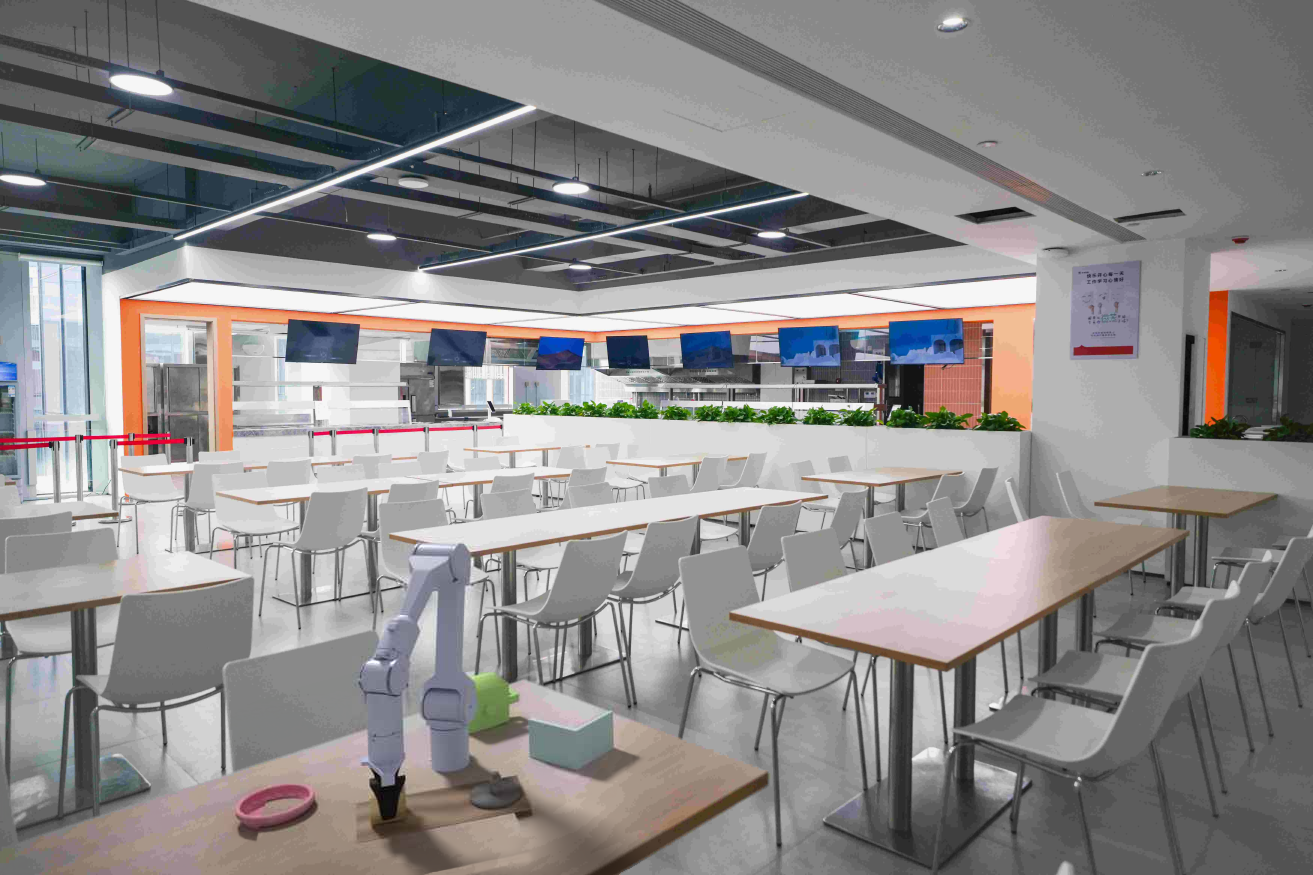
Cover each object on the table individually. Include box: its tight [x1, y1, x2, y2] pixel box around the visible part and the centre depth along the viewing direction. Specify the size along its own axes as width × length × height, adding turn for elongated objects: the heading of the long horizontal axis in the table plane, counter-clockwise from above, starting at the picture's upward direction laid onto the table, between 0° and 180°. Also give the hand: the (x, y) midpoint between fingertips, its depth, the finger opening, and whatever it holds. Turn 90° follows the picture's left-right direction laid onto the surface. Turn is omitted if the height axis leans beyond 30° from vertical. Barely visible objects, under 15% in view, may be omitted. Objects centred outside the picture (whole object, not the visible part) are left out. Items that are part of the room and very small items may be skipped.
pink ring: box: [234, 782, 316, 831], centre depth 139 cm, size 12×12×3 cm
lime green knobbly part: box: [468, 671, 520, 735], centre depth 178 cm, size 18×10×10 cm, turn 131°
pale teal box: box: [528, 710, 615, 771], centre depth 163 cm, size 12×12×8 cm
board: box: [356, 770, 533, 844], centre depth 139 cm, size 14×28×5 cm, turn 110°
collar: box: [369, 782, 407, 825], centre depth 136 cm, size 6×6×4 cm
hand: (388, 809), depth 136 cm, fingers closed on collar, 6 cm apart
